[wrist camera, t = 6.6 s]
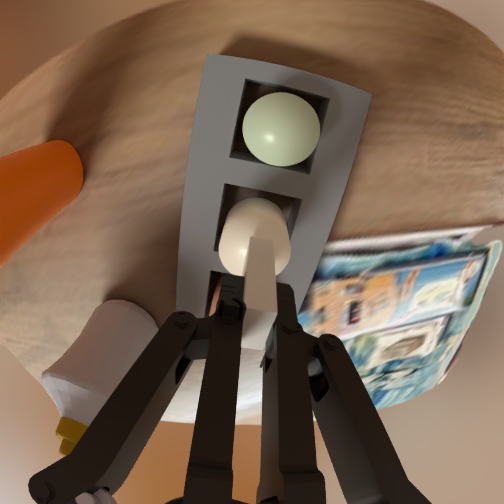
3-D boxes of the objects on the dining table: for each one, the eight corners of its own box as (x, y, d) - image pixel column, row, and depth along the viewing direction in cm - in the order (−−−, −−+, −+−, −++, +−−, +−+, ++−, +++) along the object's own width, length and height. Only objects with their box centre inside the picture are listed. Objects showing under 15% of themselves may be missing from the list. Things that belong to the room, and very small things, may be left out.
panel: (181, 302, 30) (175, 321, 28) (213, 59, 17) (207, 53, 15) (284, 320, 31) (286, 340, 28) (358, 94, 18) (372, 93, 16)
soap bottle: (104, 344, 36) (50, 483, 15) (77, 277, 29) (-20, 442, 8) (181, 357, 36) (146, 523, 15) (167, 288, 29) (94, 515, 8)
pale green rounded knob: (240, 147, 20) (235, 157, 17) (252, 88, 18) (251, 85, 14) (300, 161, 20) (309, 173, 17) (315, 103, 18) (328, 103, 14)
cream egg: (221, 246, 23) (214, 274, 19) (230, 192, 20) (224, 212, 17) (277, 257, 23) (280, 286, 20) (293, 204, 21) (299, 227, 17)
